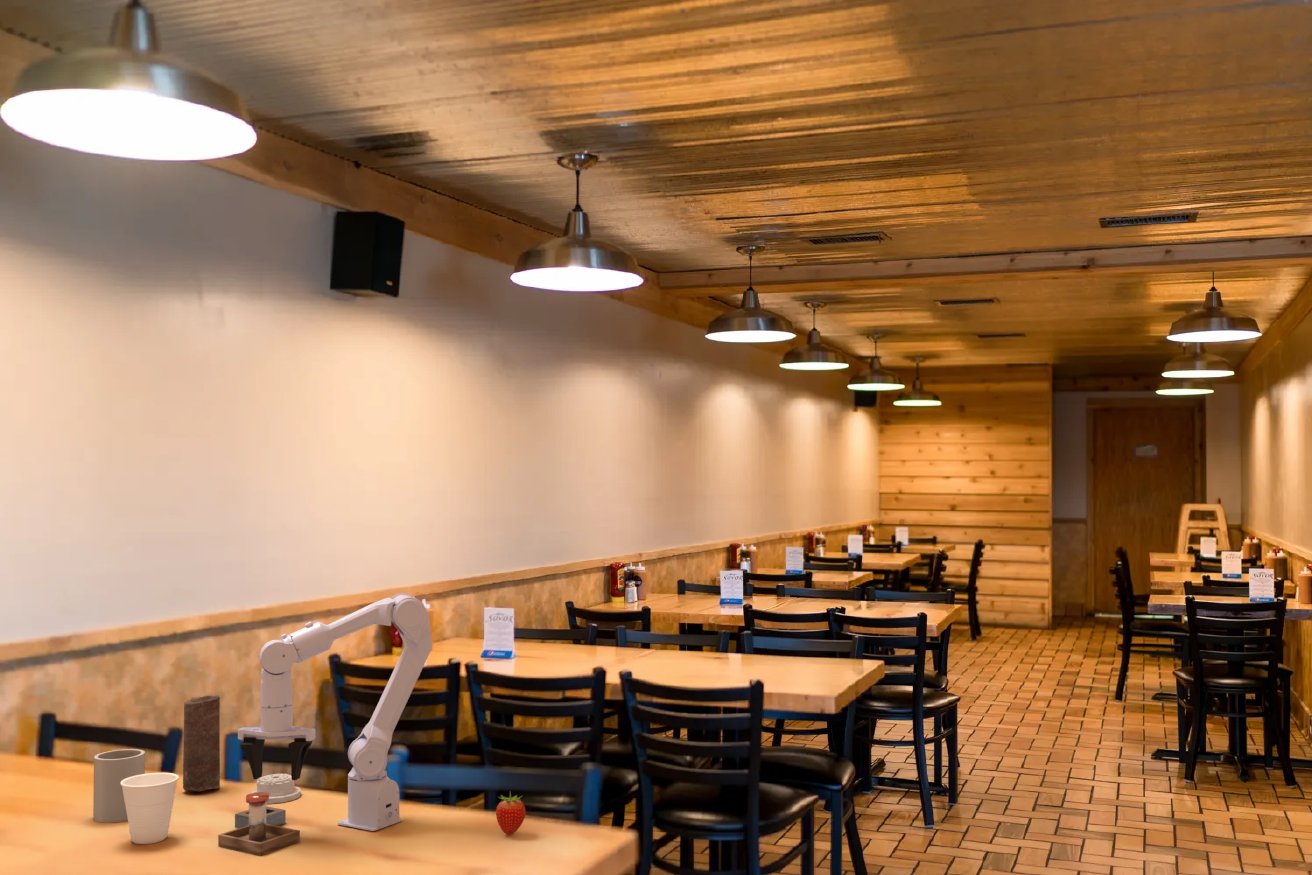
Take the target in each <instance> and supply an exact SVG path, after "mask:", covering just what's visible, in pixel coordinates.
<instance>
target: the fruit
mask: <svg viewBox="0 0 1312 875" xmlns="http://www.w3.org/2000/svg"><path fill="white" fill-rule="evenodd" d="M522 797H523V795H521V796H519V797H518V794H516V795H514V796H512V794H511V791H509V797H506V796H503V795H502V794H500V796H498V798H499V799H501V801H500V802H499V803H498V805H497V806H496V809H495V815H496V820H497V824H498V825H499V827H500V829H501V830H502V833H504V834H505V835H507V836H511V835H513V834H515V833H516V832H517V831H518V830H519V828H521V826H522V824H523V823H524V821H525V818H526V807H525V804H524V803H523V801H522V800H521V798H522Z"/></svg>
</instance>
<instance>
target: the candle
mask: <svg viewBox="0 0 1312 875" xmlns="http://www.w3.org/2000/svg"><path fill="white" fill-rule="evenodd" d="M220 699H221V698H220V695H218V694H214V695H204V696H191V697H189V698H187V700H186V701H184V703H183V753H182V754H183V759H182V762H183V763H182V771H183V772H182V789H183V790H184V791H186V792H194V793H199V792H204V791H208V790H211V789H214V790H216V789H217V790H218V789H219V788H220V787H221V786H220V784H221V783H220V782H221V779H220V778H221V776H220V775H221V763H220V761H221V755H220V754H221V753H220V752H221V751H220V750H221V747H220V743H221V738H220V735H221V734H220V730H221V729H220V728H221V726H220V722H221V721H220V716H221V715H220V713H221V712H220V710H221V708H220V707H221V705H220V704H221V703H220V701H221V700H220Z"/></svg>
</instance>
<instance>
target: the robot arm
mask: <svg viewBox="0 0 1312 875" xmlns="http://www.w3.org/2000/svg"><path fill="white" fill-rule="evenodd" d="M430 619H431V616H430V614H429V612H428V610H427V608H426V607H425V605H424V603H423V602H422V601H421V599H418V598H416V597H413V596H412V595H411V594H408V593H405V592H404V593H403V592H402V593H401V592H400V593H397V594H395V595H393V596H392V597H385V598H382V599H380V600H378V601H375V602H372V603H370V604H369V605H366V606H364V607H362V608H360V609H357V610H356V611H354V612H351V613H349V614H347V615H345V616H343V617H341V618H339V619H337V620H334V621H333V622H331V623H329V624H326V623H323V622H320V621H317V622H314V623H313V622H312V621H309V622H306V623H305V624H304V625H305V626H304V627H303V628H301V629H298V630H296V631H294V632H292V633H289V634H287V633H282V634H281V635H280V638H281V639H272V640H269V641H267V642H266V643H264V645H263V646H262V647H261V649H260V652H259V654H258V659H259V663H260V664H261V665H262V667H261V672H260V678H261V680H260V689H259V690H260V692H259V693H260V698H259V700H260V702H259V703H260V705H259V706H260V726H248V727H247V726H246V727H245V726H243V727H241V728H238V729H237V739H238V740H240V741H242V742H241V743H239V744H240V749H241V750H242V752H243V753H244V755H245V757H246V759H247V761H248V764H249V767H250V770H251V775H252V778H253V779H252V780H257V779H258V778H260V777H263V757H264V756H263V754H264V748H265V747H264V746H265V742H266V740H276V741H277V740H281V741H282V740H285V741H291V742H289V743H288V745H287V746H288V750H289V754H290V763H291V764H290V767H291V768H290V769H291V770H290V772H291V773H290V775H291V777H292V780H295V781H297V780H298V779H301V775H302V770H303V766H304V762H305V760H306V757H307V755H308V752H309V749H310V747H311V746H312V744H313V741H314V740H315V739H316V728H312V727H309V728H308V727H301V726H293V722H294V721H293V719H294V718H293V717H294V716H293V679H292V667H293V665H294V664H300V663H302V662H304V661H307V660H309V659H311V658H314V657H316V656H318V655H320V654H323V653H325V652H327V651H329V650H330V649H331V647H332V645H333V643H334V642H335V641H336V640H338V639H340V638H342V637H343V638H344V637H346V636H348V635H350V634H353V633H354V632H357V631H360V630H363V629H365V628H367V627H370V626H372V625H378V626H379V625H381V626H388V627H391V626H392V625H394V627H395V628H396V629H397V630H398V632H399V636H400V638H401V639H402V642H403V644H404V648H403V649H402V652H401V653H400V656H399V658H398V660H397V663H396V664H395V667H394V669H393V670H392V673H391V675H390V677H389V678H388V679H389V680H388V682H387V683H386V685H385V687H384V690H383V692H382V694H381V696H380V698H379V701H378V702H377V705H376V707H375V710H374V711H373V713H372V716H371V717H370V720H369V721H368V723H366V724H365V726H364V727H363V729H362V731H361V733H360V734H359V735H358V737H357V738H355V740H353V741H352V742H351V743H350V745H349V747H348V750H347V758H348V760H349V762H350V764H351V765H352V768H351V770H350V771H349V773H348V774H347V818H345V819H342V820H340V821H338V822H337V824H338V825H340V826H343V827H344V826H345V827H349V828H356V829H360V830H365V831H371V832H375V831H379V830H381V829H384V828H386V827H389V826H391V825H394V824H397V823H400V822H402V821H403V817H400V787H399V784H398V782H396V780H393V779H391V778H389V777H388V775H387V774H388V773H387V772H388V771H387V770H386V768H387V765H388V752H389V750H390V747H391V745H392V738H393V734H394V731H395V729H396V726H397V724H398V722H399V720H400V718H401V715H402V714H403V711H404V709H405V707H406V705H407V703H408V700H409V698H410V697H411V694H412V693H413V690H414V688H415V685H416V683H417V681H418V679H419V677H420V675H421V672H422V670H423V668H424V666H425V663H426V662H427V659H428V657H429V655H430V653H431V651H432V648H433V641H432V640H433V639H432V633H431V624H430Z"/></svg>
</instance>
